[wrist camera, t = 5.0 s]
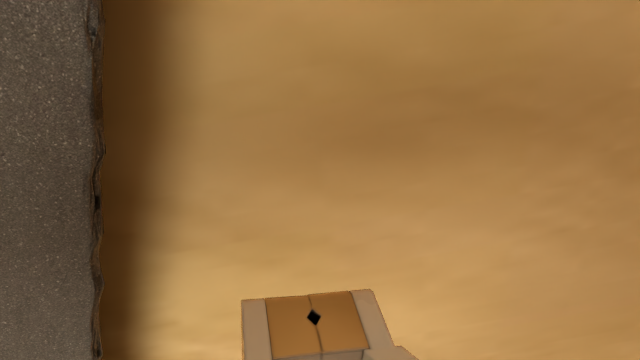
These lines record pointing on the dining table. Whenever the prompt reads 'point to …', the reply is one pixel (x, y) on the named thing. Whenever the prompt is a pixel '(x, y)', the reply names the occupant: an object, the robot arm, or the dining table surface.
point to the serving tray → (51, 179)
